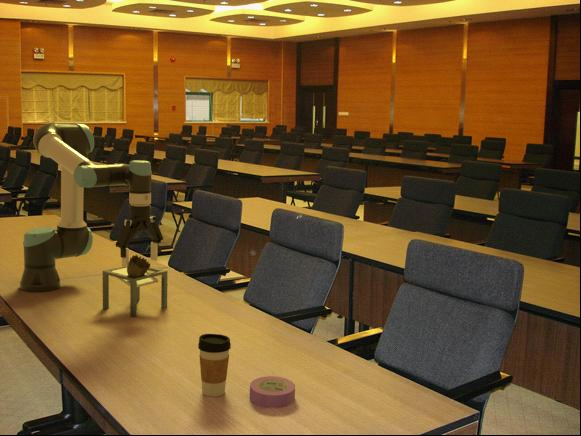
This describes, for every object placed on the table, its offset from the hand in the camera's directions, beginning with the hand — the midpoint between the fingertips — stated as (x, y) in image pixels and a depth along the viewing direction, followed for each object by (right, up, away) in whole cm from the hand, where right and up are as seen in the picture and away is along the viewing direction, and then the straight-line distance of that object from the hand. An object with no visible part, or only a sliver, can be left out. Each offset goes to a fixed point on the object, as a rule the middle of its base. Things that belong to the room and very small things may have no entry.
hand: (140, 263), depth 243 cm
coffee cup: (+34, -30, -65) cm, 79 cm away
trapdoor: (-3, -5, +3) cm, 6 cm away
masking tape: (+49, -31, -67) cm, 89 cm away
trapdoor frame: (-3, -17, +4) cm, 17 cm away
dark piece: (-3, -6, -2) cm, 7 cm away
